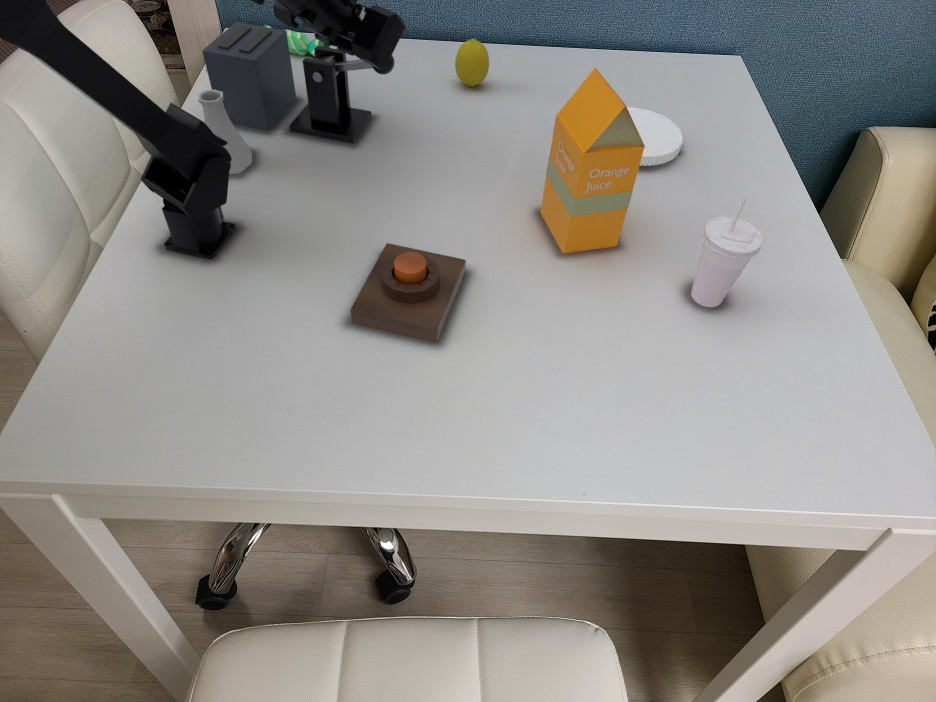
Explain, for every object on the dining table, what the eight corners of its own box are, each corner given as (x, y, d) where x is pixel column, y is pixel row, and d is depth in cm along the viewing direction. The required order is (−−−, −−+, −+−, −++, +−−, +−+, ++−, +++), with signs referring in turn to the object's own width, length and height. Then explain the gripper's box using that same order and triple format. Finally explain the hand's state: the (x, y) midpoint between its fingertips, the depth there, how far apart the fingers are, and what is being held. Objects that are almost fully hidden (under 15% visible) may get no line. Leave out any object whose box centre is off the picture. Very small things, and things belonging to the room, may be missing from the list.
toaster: (268, 132, 100) (254, 57, 92) (219, 122, 101) (201, 48, 93) (296, 100, 107) (286, 28, 98) (250, 91, 108) (235, 19, 99)
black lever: (400, 67, 94) (393, 44, 92) (392, 77, 92) (386, 54, 90) (325, 74, 98) (317, 52, 96) (316, 84, 96) (308, 62, 94)
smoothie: (694, 271, 84) (733, 176, 74) (742, 295, 82) (789, 200, 71) (670, 297, 81) (707, 201, 70) (719, 323, 78) (765, 228, 68)
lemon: (449, 82, 113) (450, 34, 107) (478, 77, 115) (481, 29, 109) (462, 97, 110) (465, 49, 104) (492, 92, 112) (496, 43, 106)
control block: (437, 343, 74) (437, 317, 71) (351, 323, 75) (348, 297, 72) (465, 273, 82) (466, 247, 79) (387, 256, 83) (385, 230, 80)
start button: (420, 288, 75) (420, 276, 73) (389, 281, 75) (389, 269, 74) (430, 267, 77) (430, 255, 76) (400, 260, 77) (399, 249, 76)
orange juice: (562, 254, 85) (592, 108, 70) (538, 212, 91) (562, 68, 76) (618, 246, 87) (659, 101, 72) (592, 205, 92) (625, 63, 77)
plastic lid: (635, 113, 109) (639, 99, 108) (697, 156, 102) (702, 141, 100) (568, 135, 104) (571, 120, 102) (628, 181, 97) (632, 166, 95)
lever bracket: (372, 118, 104) (367, 49, 96) (353, 145, 99) (347, 74, 91) (312, 107, 106) (302, 37, 98) (290, 132, 100) (278, 62, 92)
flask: (260, 150, 97) (246, 84, 89) (244, 179, 92) (228, 112, 85) (210, 145, 97) (193, 79, 90) (192, 174, 92) (172, 106, 85)
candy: (332, 48, 117) (323, 34, 113) (325, 66, 117) (316, 52, 113) (273, 34, 120) (262, 19, 116) (266, 51, 119) (255, 37, 115)
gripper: (391, -61, 71) (455, 15, 85) (275, -104, 78) (352, -27, 93) (343, 37, 73) (413, 96, 87) (234, -13, 80) (316, 49, 94)
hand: (373, 50), depth 90 cm, fingers closed
